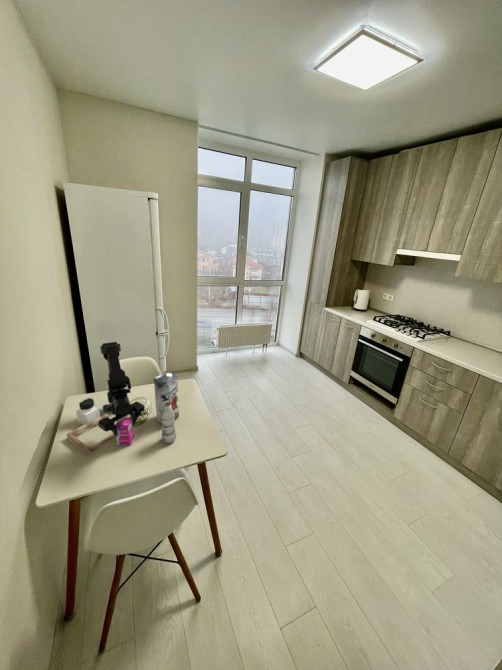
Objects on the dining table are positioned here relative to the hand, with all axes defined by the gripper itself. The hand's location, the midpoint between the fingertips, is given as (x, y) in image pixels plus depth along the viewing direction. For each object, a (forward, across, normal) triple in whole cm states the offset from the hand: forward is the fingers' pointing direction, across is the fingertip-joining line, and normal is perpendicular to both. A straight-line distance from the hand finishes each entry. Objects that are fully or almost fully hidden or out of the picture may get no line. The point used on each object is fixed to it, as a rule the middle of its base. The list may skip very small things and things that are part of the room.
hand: (124, 430), depth 119 cm
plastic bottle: (+6, -12, +15) cm, 20 cm away
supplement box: (+6, 0, 0) cm, 6 cm away
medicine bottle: (+6, +2, -27) cm, 28 cm away
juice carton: (+6, -22, +3) cm, 23 cm away
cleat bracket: (+6, +4, -14) cm, 16 cm away
